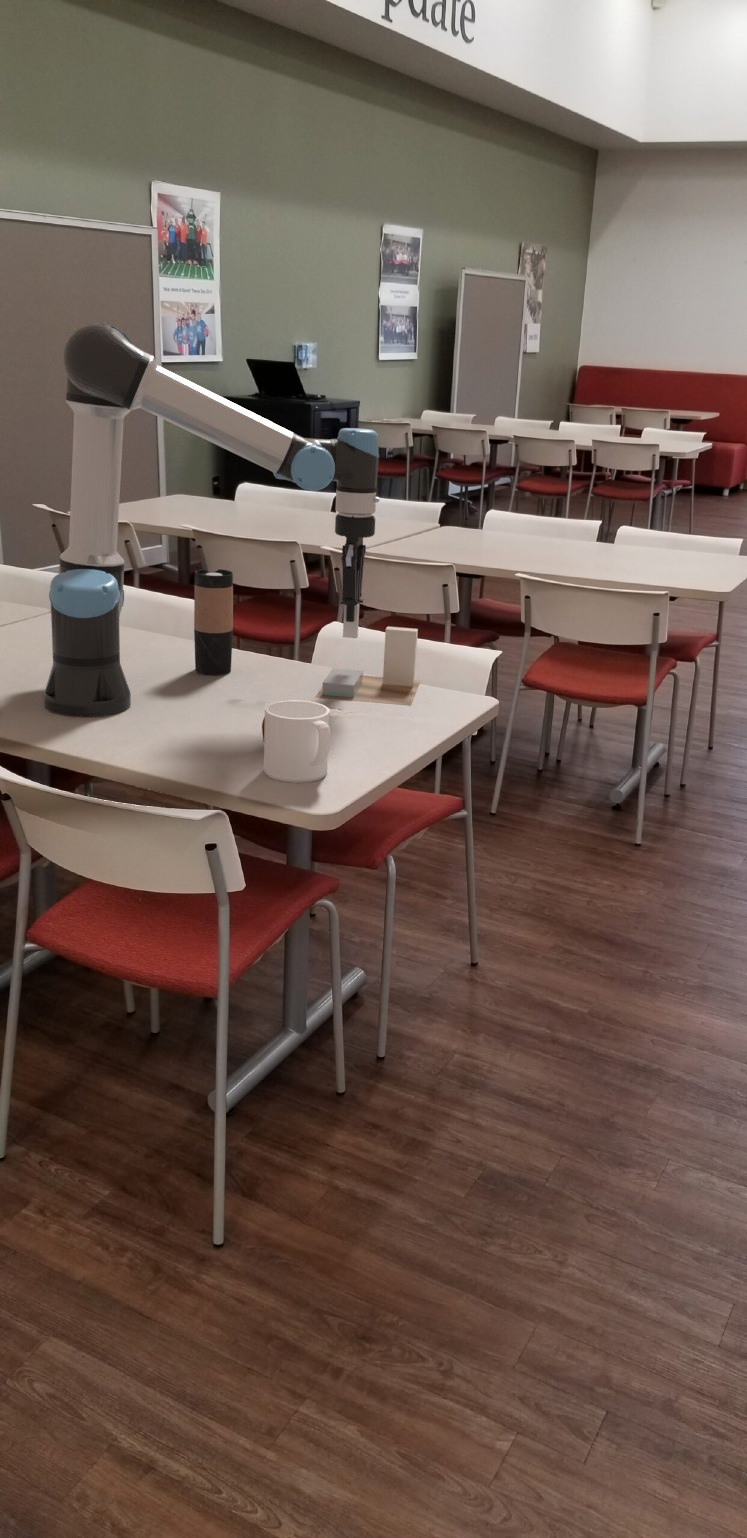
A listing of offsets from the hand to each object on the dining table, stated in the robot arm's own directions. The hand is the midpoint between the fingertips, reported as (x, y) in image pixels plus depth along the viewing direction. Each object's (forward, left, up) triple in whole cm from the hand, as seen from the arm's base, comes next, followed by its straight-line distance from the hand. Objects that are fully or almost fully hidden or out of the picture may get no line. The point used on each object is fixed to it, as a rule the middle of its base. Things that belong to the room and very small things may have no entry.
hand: (350, 636), depth 232 cm
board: (-4, -5, -10) cm, 12 cm away
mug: (-52, -1, -10) cm, 53 cm away
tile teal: (0, 0, -8) cm, 8 cm away
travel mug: (+3, +28, -10) cm, 30 cm away
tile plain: (+1, -10, -9) cm, 13 cm away
